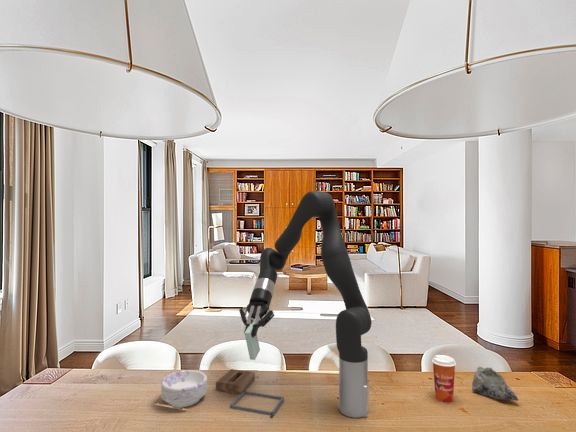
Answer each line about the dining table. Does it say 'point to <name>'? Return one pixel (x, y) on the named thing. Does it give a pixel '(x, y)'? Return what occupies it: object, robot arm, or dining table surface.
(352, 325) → the robot arm
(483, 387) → the mineral rock
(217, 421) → the dining table surface
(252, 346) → the pale green rectangular block
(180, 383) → the paper bowls
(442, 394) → the paper cup
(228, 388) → the walnut slotted block
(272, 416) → the charcoal tray
